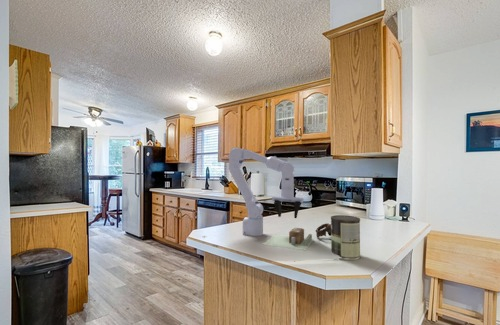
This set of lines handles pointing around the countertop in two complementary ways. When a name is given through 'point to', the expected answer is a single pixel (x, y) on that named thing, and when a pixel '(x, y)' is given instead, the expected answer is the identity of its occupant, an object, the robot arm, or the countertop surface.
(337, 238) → the coffee can
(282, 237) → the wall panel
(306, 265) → the countertop surface
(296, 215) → the robot arm
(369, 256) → the countertop surface
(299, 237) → the brown block
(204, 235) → the countertop surface
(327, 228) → the brown clay pot
